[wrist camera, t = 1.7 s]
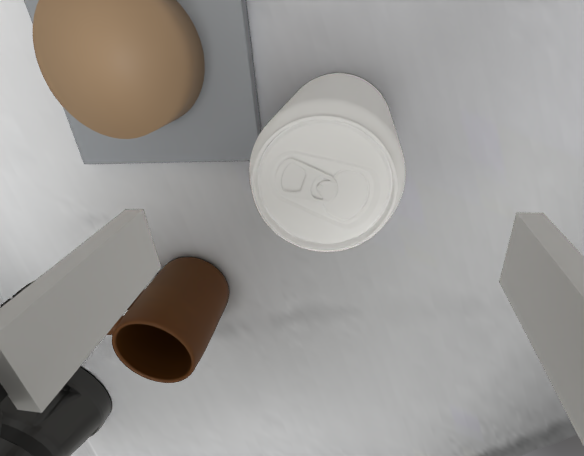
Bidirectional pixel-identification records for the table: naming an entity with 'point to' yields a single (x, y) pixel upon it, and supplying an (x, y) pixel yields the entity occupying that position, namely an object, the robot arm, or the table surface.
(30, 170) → the table surface
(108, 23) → the pedestal
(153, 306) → the mug
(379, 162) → the beverage can
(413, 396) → the table surface
